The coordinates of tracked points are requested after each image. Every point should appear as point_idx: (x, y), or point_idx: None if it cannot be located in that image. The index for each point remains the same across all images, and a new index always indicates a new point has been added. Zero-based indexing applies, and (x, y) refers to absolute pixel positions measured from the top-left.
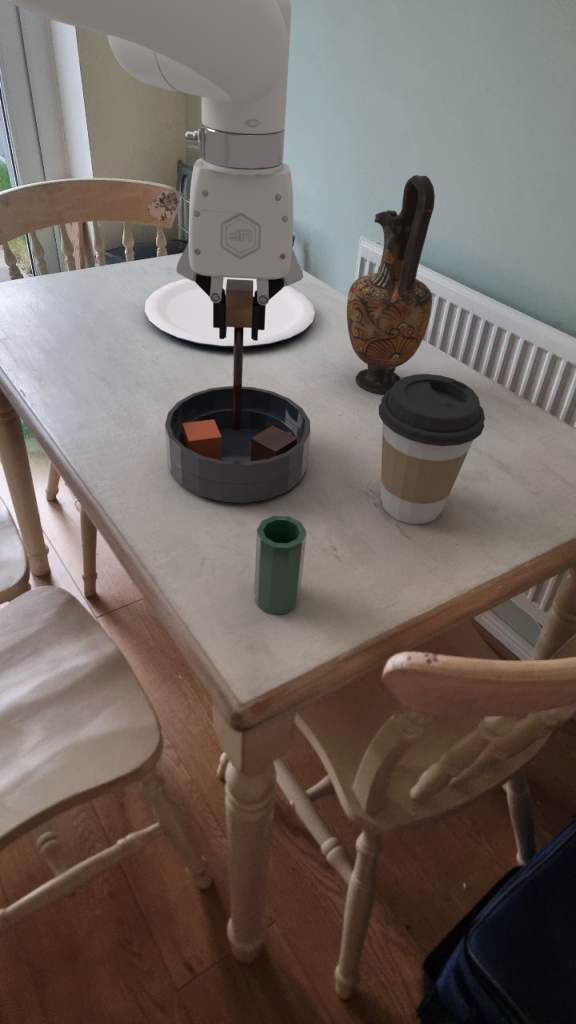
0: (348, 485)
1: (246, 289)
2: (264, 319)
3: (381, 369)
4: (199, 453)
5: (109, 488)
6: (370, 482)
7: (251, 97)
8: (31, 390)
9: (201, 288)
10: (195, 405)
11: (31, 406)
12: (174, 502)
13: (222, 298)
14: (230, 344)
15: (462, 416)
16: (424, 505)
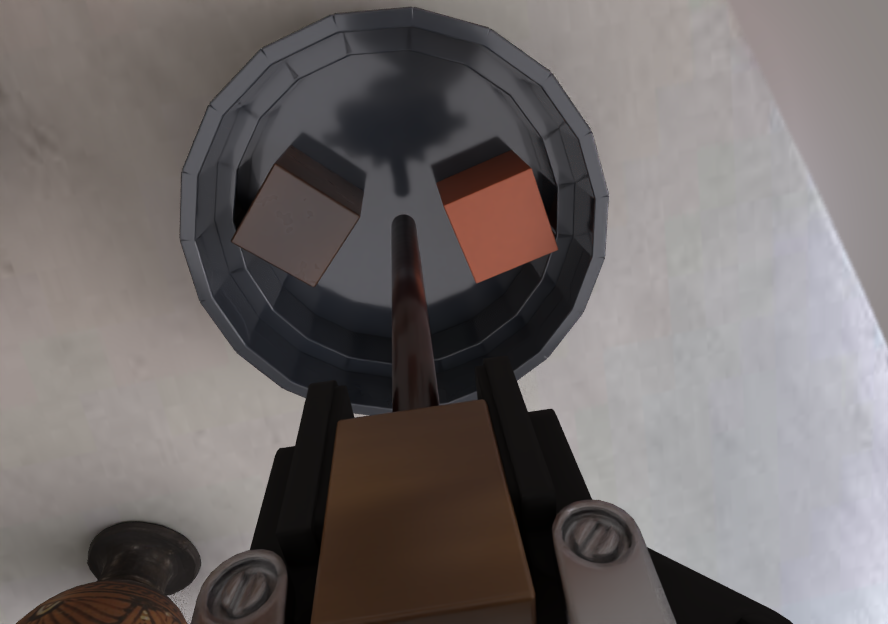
0: (98, 165)
1: None
2: (270, 488)
3: (117, 579)
4: (495, 168)
5: (697, 42)
6: (44, 188)
7: None
8: (875, 379)
9: (721, 585)
10: (533, 335)
11: (876, 326)
12: (531, 8)
13: (543, 550)
14: None
15: None
16: None
